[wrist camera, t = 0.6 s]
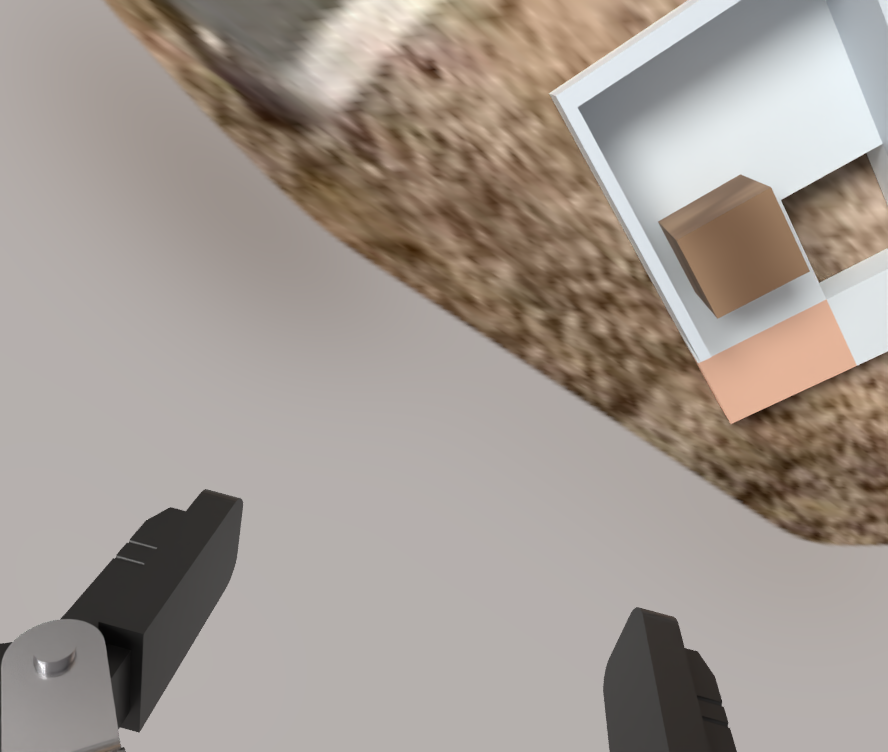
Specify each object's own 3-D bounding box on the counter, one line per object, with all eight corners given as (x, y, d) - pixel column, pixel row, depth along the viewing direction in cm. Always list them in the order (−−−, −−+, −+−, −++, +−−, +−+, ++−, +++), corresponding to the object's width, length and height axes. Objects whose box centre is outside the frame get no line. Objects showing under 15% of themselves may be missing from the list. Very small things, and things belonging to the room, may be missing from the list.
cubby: (790, -69, 28) (857, -106, 23) (939, 303, 34) (1022, 346, 28) (549, 93, 31) (555, 96, 26) (720, 406, 37) (755, 463, 31)
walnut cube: (740, 174, 30) (771, 187, 26) (775, 249, 31) (810, 271, 28) (657, 221, 31) (676, 240, 28) (695, 292, 32) (717, 318, 29)
